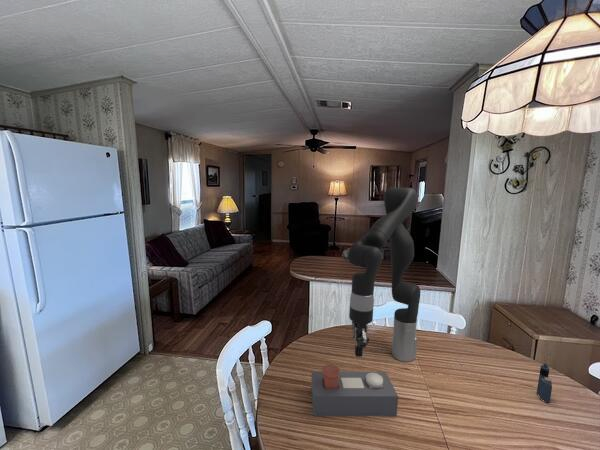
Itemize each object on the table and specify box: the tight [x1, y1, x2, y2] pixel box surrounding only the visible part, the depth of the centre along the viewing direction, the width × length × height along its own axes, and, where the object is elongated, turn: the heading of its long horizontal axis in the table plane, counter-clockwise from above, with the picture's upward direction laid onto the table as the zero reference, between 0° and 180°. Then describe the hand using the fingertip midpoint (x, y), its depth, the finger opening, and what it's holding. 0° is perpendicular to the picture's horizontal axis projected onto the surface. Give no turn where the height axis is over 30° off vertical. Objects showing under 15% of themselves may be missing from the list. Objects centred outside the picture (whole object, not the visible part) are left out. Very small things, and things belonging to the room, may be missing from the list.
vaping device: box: [536, 363, 553, 403], centre depth 99 cm, size 3×5×12 cm, turn 161°
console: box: [310, 371, 399, 417], centre depth 95 cm, size 27×12×7 cm, turn 92°
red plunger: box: [322, 364, 340, 388], centre depth 94 cm, size 6×6×8 cm
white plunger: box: [366, 373, 383, 389], centre depth 95 cm, size 6×6×8 cm
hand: (358, 355), depth 93 cm, fingers closed
